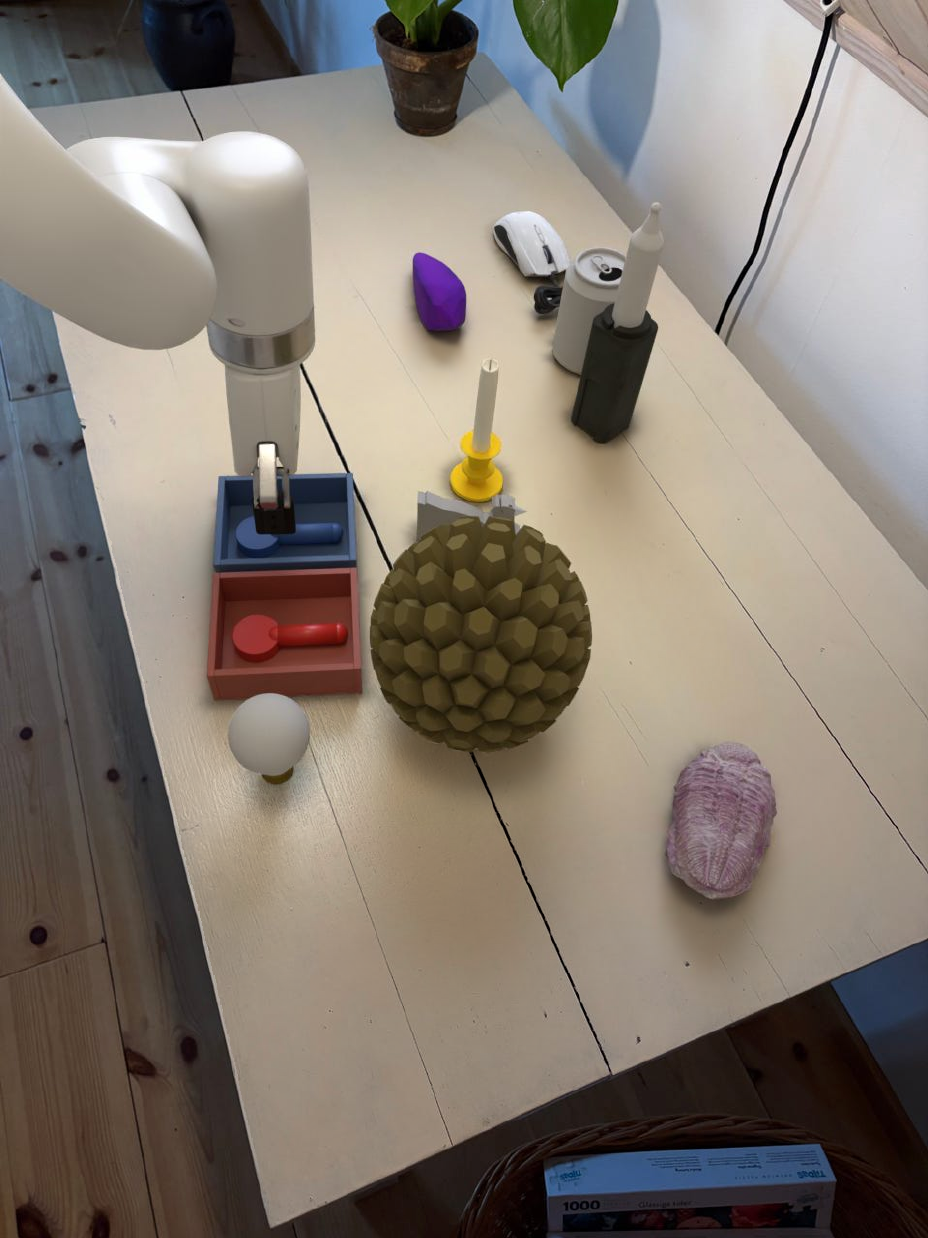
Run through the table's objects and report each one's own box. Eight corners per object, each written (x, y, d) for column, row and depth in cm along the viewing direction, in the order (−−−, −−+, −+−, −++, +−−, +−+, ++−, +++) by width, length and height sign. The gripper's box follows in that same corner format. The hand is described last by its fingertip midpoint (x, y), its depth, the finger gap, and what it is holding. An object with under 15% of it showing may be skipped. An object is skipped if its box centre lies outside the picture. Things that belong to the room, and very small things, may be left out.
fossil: (641, 890, 72) (657, 866, 67) (685, 736, 79) (701, 706, 75) (746, 931, 70) (769, 909, 66) (780, 770, 78) (802, 742, 74)
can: (583, 390, 102) (604, 296, 92) (536, 351, 105) (552, 257, 95) (631, 362, 105) (657, 269, 95) (585, 326, 108) (605, 231, 98)
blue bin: (219, 592, 84) (213, 565, 81) (224, 504, 90) (218, 475, 86) (357, 586, 85) (356, 559, 82) (353, 500, 91) (352, 472, 88)
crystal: (436, 232, 109) (477, 302, 100) (436, 271, 113) (475, 342, 104) (396, 237, 108) (434, 308, 99) (397, 276, 112) (433, 348, 103)
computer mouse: (537, 215, 119) (542, 185, 116) (612, 302, 110) (619, 273, 107) (467, 232, 116) (469, 202, 113) (538, 323, 107) (543, 293, 104)
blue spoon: (343, 521, 89) (342, 509, 87) (344, 555, 87) (343, 543, 85) (238, 525, 88) (235, 512, 86) (236, 559, 85) (234, 547, 84)
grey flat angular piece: (417, 530, 89) (521, 535, 90) (416, 542, 89) (522, 546, 89) (418, 490, 85) (528, 495, 85) (417, 502, 84) (529, 506, 84)
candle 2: (566, 418, 99) (614, 198, 78) (599, 397, 101) (654, 178, 80) (601, 446, 97) (660, 228, 76) (634, 424, 99) (699, 206, 79)
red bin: (213, 700, 78) (206, 676, 75) (219, 599, 83) (212, 572, 80) (362, 693, 79) (361, 668, 76) (358, 593, 85) (356, 567, 82)
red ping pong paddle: (347, 619, 83) (347, 607, 81) (349, 658, 80) (348, 647, 79) (234, 624, 82) (232, 612, 80) (233, 664, 79) (230, 652, 78)
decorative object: (394, 599, 85) (396, 441, 68) (579, 633, 84) (627, 482, 68) (349, 767, 75) (340, 632, 59) (557, 807, 75) (607, 682, 58)
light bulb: (326, 752, 76) (319, 691, 68) (299, 818, 73) (288, 763, 65) (258, 731, 77) (243, 668, 68) (227, 795, 73) (208, 738, 65)
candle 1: (501, 505, 92) (520, 383, 79) (448, 500, 92) (458, 377, 79) (503, 465, 95) (522, 341, 82) (451, 460, 95) (462, 336, 82)
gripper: (212, 246, 71) (235, 415, 85) (198, 409, 61) (227, 569, 75) (313, 249, 72) (320, 415, 86) (316, 409, 62) (323, 567, 76)
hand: (277, 487), depth 80 cm, fingers open, 9 cm apart
